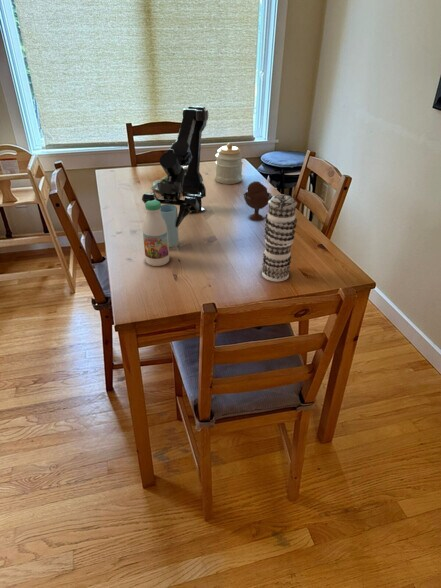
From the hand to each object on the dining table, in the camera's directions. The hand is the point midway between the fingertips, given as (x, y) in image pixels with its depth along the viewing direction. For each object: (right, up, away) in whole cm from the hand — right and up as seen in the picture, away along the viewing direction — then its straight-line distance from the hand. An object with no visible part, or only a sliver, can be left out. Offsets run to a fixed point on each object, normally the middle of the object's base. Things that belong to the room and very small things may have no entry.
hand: (166, 225), depth 136 cm
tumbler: (0, -5, +5) cm, 7 cm away
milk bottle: (-2, -12, -3) cm, 13 cm away
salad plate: (-5, +26, +54) cm, 60 cm away
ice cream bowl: (+32, +7, +27) cm, 43 cm away
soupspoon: (+3, +37, +70) cm, 79 cm away
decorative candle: (+35, -17, -9) cm, 40 cm away
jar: (+22, +33, +64) cm, 76 cm away
